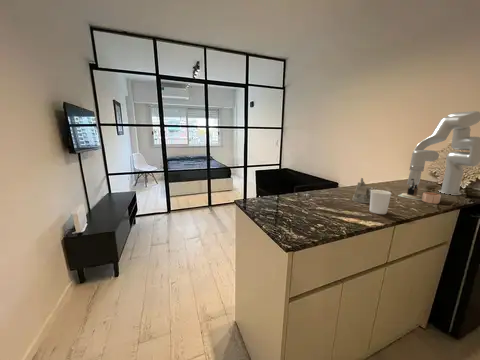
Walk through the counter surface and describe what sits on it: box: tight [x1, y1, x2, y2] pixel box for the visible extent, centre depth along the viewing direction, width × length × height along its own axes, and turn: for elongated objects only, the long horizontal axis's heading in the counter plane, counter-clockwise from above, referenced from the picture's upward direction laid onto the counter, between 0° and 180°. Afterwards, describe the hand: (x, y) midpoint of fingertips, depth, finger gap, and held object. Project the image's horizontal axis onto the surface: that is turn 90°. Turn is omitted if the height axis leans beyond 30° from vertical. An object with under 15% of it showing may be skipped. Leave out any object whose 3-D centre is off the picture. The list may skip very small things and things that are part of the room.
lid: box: [401, 187, 422, 200], centre depth 146 cm, size 11×11×6 cm
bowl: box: [421, 191, 442, 205], centre depth 135 cm, size 8×8×6 cm
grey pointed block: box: [351, 177, 377, 204], centre depth 138 cm, size 16×16×15 cm
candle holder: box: [368, 189, 392, 215], centre depth 118 cm, size 10×10×12 cm
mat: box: [397, 193, 422, 201], centre depth 147 cm, size 13×13×1 cm
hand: (412, 193), depth 146 cm, fingers open, 6 cm apart
